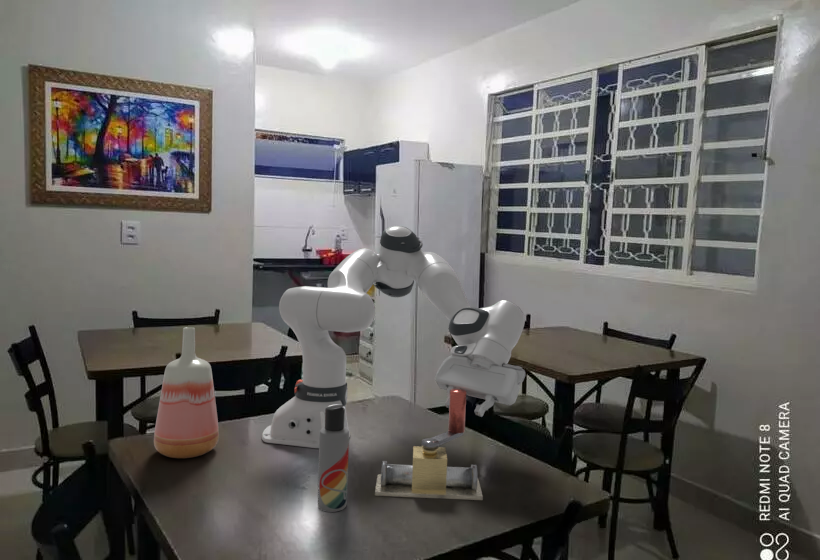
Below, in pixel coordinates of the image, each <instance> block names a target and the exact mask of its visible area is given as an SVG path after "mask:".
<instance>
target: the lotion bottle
mask: <svg viewBox="0 0 820 560" xmlns="http://www.w3.org/2000/svg"><path fill="white" fill-rule="evenodd" d="M344 423H345V408H344V407H343V405H331V406H328V407H327V408H325V427H324V428H322V429H321V430H320V436H319V448H318V472H317V473H318V476H317V507H318V509H320V510H321V511H323V512H329V513H334V512H340V511H344V509H345V508H346V507H347V505H348V503H347V502H348V481H349V479H348V477H349V474H348V473H349V446H350V445H349V444H350V437H349V432H350V429H349V430H348V429H347V428H345V427H344Z"/></svg>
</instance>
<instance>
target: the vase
mask: <svg viewBox="0 0 820 560" xmlns="http://www.w3.org/2000/svg"><path fill="white" fill-rule="evenodd" d="M161 385H162V386H161V392H160V397H159V403H158V407H157V415H156V418H155V419H156V421H155V427H154V434H153V446H154V448H155V450H156V451H157V452H158V453H159V454H160V455H162V456H165V457H168V458H172V459H191V458H196V457H199V456H202V455H205V454H207V453H209V452H211V451H212V450H213V449H214V448H216V446H217V445H218V443H219V439H220V432H219V431H220V430H219V429H220V428H219V422H218V421H219V420H218V419H219V418H218V412H217V411H218V410H217V404H216V396H215V387H214V379H213V371H212V366H211V364H210V362H208V361H207V360H205V359H204V358H200V357H198V356H197V354H196V328H195V327H190V326H188V327H183V328H182V346H181V355H180V357H179V358H177V359H174V360H172V361H170V362H168V364H167V365H166V367H165V369H164V375H163V380H162V384H161Z"/></svg>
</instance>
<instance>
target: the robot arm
mask: <svg viewBox="0 0 820 560" xmlns="http://www.w3.org/2000/svg"><path fill="white" fill-rule="evenodd" d="M379 244H380V247H379V253H377V252H375V250H373V249H370V248H365V247H364V248H360V249H357V250H355V251H354V252H353V251H352V253H350V254H349V255H347V256H346V257H345V258H344V259H343V260H342V261H341V262H340V263H339V264H338V265H337V266H336V267H335V268H334V269H333V271H331V273H330V274H329V276H328V279H327V287H325V286H324V287H323V286H321V287H320V286H308V285H304V286H296V287H291V288H287V289H286V290H285V291H284V292H283V294H282V296H281V297H280V299H279V302H278V303H279V304H278V312H279V315H280V317H281V319H282V321H283V322H284V324H286V325H287V326H288V327H289V328H290V329H291V330H292V331H293V333H294V334H295V336H296V338H297V341H298V343H299V345H300V349H301V355H302V379H298V380H296V383H295V385H294V396H293V397H292V398H291V399H288V401H286V402H285V403H284V404H282V405H281V406H279V408H278V409H276V411H275V412H274V414H273V417H272V421H271V424H270V425H267V426H266V428H265V429H263V432H262V435H261V436H262V437H261V439H262V441H263V442H264V443H268V444H277V445H287V446H293V447H294V446H295V447H303V448H311V449H319V436H320V430H321V429H322V428H324V427H325V408H327V407H328V406H331V405H343V407H344V408H345V423H344V427H345V428H347V429H348V430H349V438H350V437H351V433H350V429H349V424H348V418H347V417H348V416H347V403H348V392H349V391H348V383H347V379H346V378H347V354H346V352H345V350H344V349H343V348H342V347H341V346H340V345H338V344H337V343H335V342H334V340H333V339H332V338H331V336H330V333H329V331H330V332H338V333H339V332H340V333H355V332H356V333H357V332H362V331H366V330H367V329H368V328H369V327H371V325H372V323H373V322H374V319H375V317H376V316H375V314H376V308H375V302H374V301H373V299H372V297H371V296H370V295H369V294H368V292H369V290H370V289H371V288H372V286H374V287H375V288H376V289H377V290H379V291H380V292H381V293H382V294H385V295H386V296H388V297H391V298H402V297H405V296H407V295H409V294H410V293H412V292H411V291H413V286H414V283H415V282H416V284H417V286H418V288H419V289H420V291H421V294H423V295H424V297H425V298H426V299H427V300H428V301H429V302H430V303H431V304H432V306H434V307H435V308H436V309H437V310H438V311H439V312H440V313H441V314H442V315H443V316H444V317H445V318H446V319H447V320H448V321H449V325H448V332H449V334H450V335H451V337H452V338H453V340H454V341H455V343H456V344H457V345H455V346H452V347H451V349H450V354H451V355H449V356H447V357H446V358H445V359H444V360H443V361H442V363H441V364H440V365H439V368H438V369H437V371H436V373H435V376H434V381H435V383H436V385H437V386H438V387H439V389H440V390H443V391H446V396H447V397H446V400H445V402H444V406H445V408H448V409H449V406H450V390H452V389H462V390H465V391H466V396H469V397H473V398H478V399H481V400H482V399H483V400H485V401H483V402H482V403H481V404H480V405H479V404H477V405H476V407H475V409H474V412H473V413H474V414H475V416H478V417H481V418H482V417H483V416H484V414H485V412H486V411H487V410H489V409H490V408H492V407H493V406H494V404H495V403H499V404H503V405H507V406H512V405H513V404H515V403H516V401H517V398H518V396H519V394H520V393H519V392H520V389H521V384H522V383H523V382H524V380H525V377H526V370H525V369H523V367H522V366H520V365H512V364H509V361H510V359H511V356H512V351H513V349H514V348H515V346H516V345H517V344H518V342H519V339H520V338H521V335H522V332H523V331H524V327H525V322H526V317H525V314H524V312H523V310H522V309H521V308H520V307H519V306H518V305H517V304H515V303H514V302H512V301H510V300H506V299H505V300H504V299H501V300H499V301H497V302H496V303H495V304H493V305H489V306H486V307H485V306H484V307H480V308H477V307H471V305H470V303H469V302H470V301H468V298H467V296H466V293H465V291H464V287H463V285H462V283H461V281H460V278H459V276H458V275H457V272H456V271H455V270H454V268H453V266H451V265H450V263H449V262H448V261H447V260H446V259H445V258H444V257H442V256H441V255H439V254H438V253H436V252H433V251H423V250H422V248H423V245H424V244H423V241H422V240H420V239H418V237H417V235H416V234H415V232H413V231H412V230H411V228H409V227H406V226H402V225H393V226H392V225H391V226H389V227H388V228H385V229H384V230H383V232H382V233H381V236H380V239H379Z"/></svg>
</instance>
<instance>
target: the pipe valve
mask: <svg viewBox="0 0 820 560" xmlns="http://www.w3.org/2000/svg"><path fill="white" fill-rule="evenodd" d="M446 448H447V447H443V446H442V447H440V446H439V448H438V449H435V450H428V449H424V448H422V446H420V445H419V446H417V445H416V446H415V445H413V447H412V464H393V463H388V461H387V460H382V461H381V467H380V468H381V469H380V472H381V473H380V474H377V476H376V477H377V478H376V483H375V489H374V496H377V497H400V498H401V497H402V498H419V499H420V498H422V499H423V498H424V499H425V498H427V499H447V500H466V501H468V500H470V501H471V500H472V501H473V500H474V501H483V500H484V495H483V492H482V488H481V484H480V481H479V478H478V477H479V476H478V466H477V464H470V467H464V466H463V467H462V466H448V454H447V449H446Z"/></svg>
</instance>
